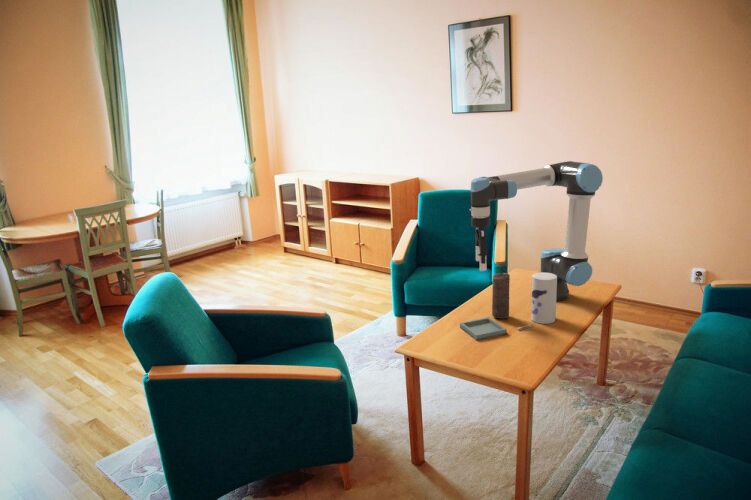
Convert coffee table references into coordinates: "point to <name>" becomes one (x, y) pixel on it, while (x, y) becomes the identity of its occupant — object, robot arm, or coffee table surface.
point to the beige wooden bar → (524, 327)
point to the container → (544, 297)
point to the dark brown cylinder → (500, 295)
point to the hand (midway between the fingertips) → (481, 265)
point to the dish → (483, 328)
